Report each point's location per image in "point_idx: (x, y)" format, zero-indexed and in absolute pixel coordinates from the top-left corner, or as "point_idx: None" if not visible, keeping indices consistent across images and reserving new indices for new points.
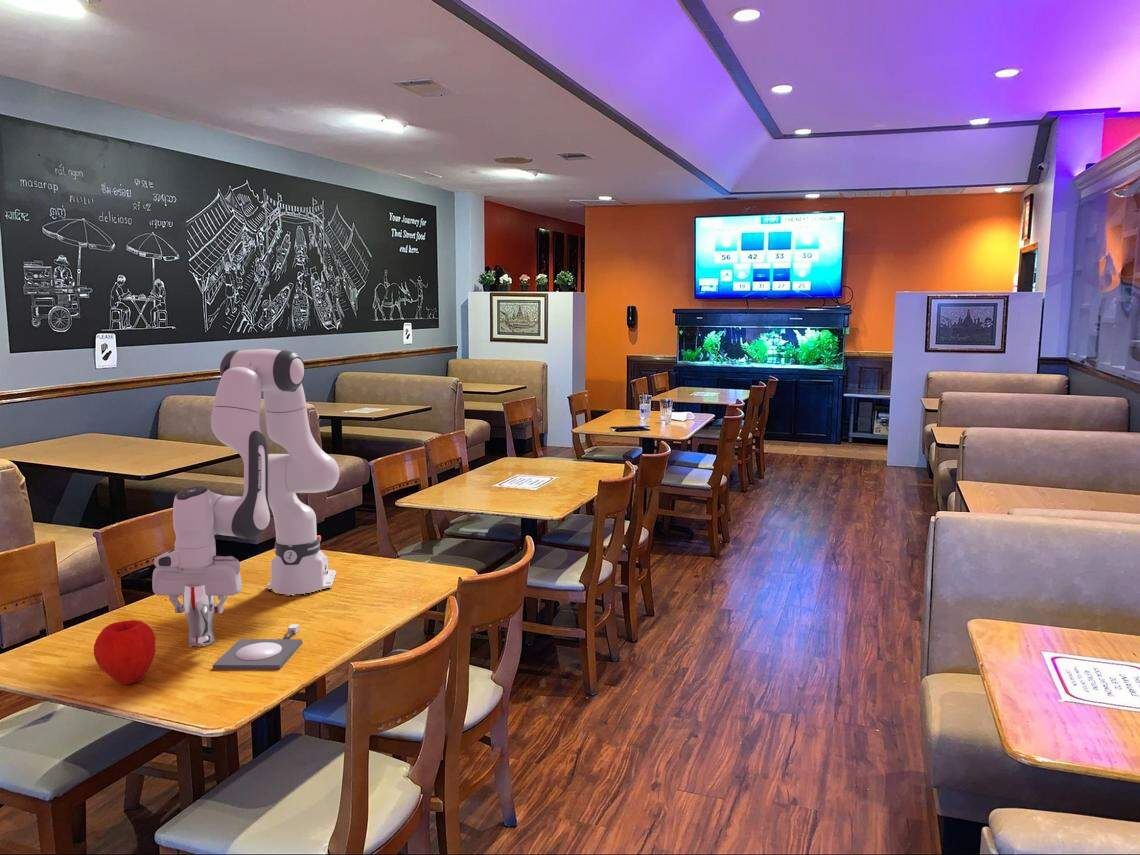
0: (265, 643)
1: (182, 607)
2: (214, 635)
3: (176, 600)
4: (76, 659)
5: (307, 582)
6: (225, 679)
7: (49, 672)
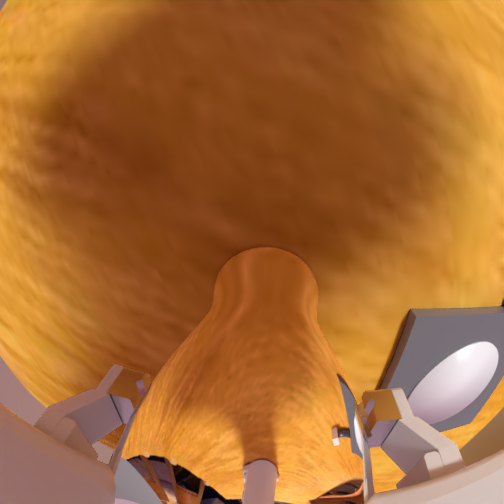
0: (476, 350)
1: (139, 400)
2: (316, 294)
3: (89, 422)
4: (33, 348)
5: None
6: (380, 456)
7: (45, 387)
